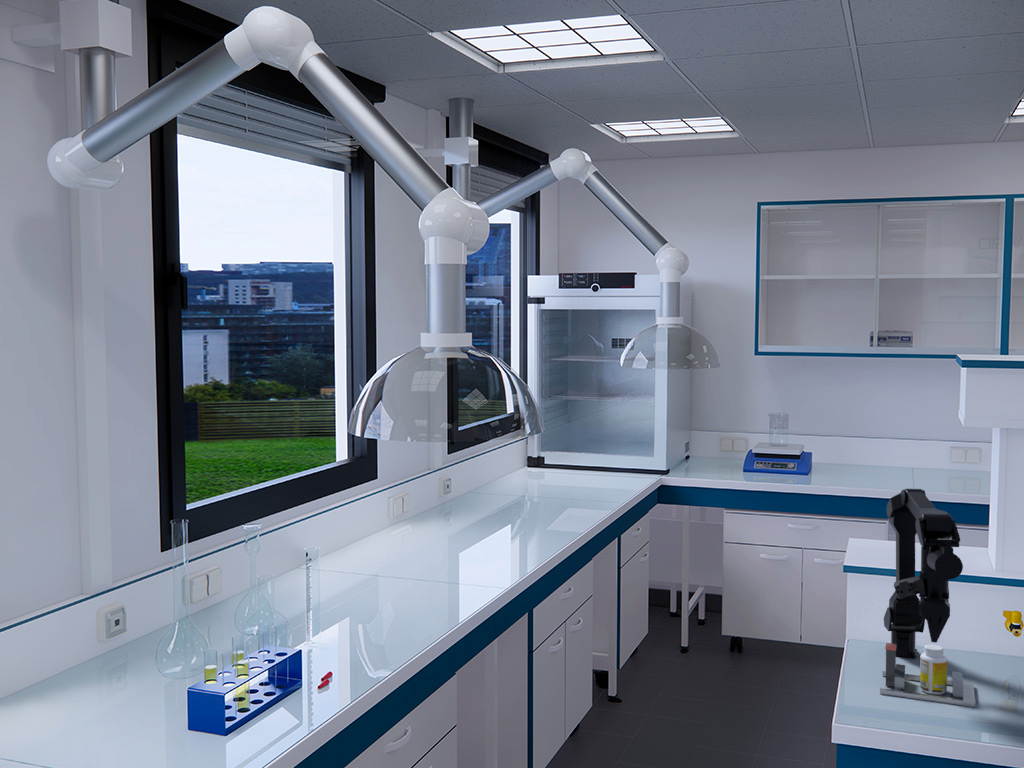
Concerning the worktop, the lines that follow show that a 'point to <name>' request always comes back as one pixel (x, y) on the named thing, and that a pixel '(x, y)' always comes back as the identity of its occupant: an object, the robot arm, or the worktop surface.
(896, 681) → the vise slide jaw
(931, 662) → the supplement bottle
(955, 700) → the frame
